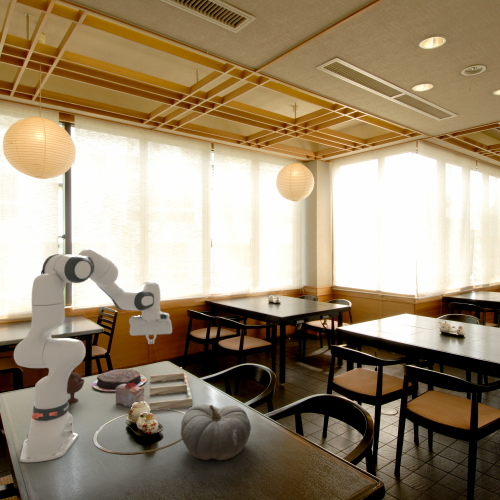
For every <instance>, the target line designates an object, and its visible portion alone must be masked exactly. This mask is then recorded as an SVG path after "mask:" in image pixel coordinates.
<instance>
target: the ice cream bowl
mask: <svg viewBox="0 0 500 500" xmlns="http://www.w3.org/2000/svg"><path fill="white" fill-rule="evenodd" d="M84 383H85V379H83V378H82V375H81V374H80V373H78V372H75V371H74V370H73V371H72V372H71V374H70V376H69V379H68V383H67V394H68V395H70V397H69V399H67V400H68V404H69V405H73V404H77V403H78V402H79V399H78V398H76V397H75V393H78V392H79V391H81V389H83V387H84Z"/></svg>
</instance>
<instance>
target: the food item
mask: <svg viewBox="0 0 500 500" xmlns="http://www.w3.org/2000/svg"><path fill="white" fill-rule="evenodd" d="M144 397H145V387H141V386H139V387H137V386H136V384H134V383H128V384H121V385H119V386H117V387H116V392H115V404H119V405H123V407H131V406H132V404H133V403H134V402H138V401H143V402H144V401H145V400H144ZM131 408H132V407H131Z"/></svg>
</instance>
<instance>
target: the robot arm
mask: <svg viewBox="0 0 500 500" xmlns="http://www.w3.org/2000/svg"><path fill="white" fill-rule="evenodd" d="M118 276H119V269H118V267H117V266H116V264H115V263H114V262H113V261H112V260H110V259H109V258H108V257H107V256H105V255H104V254H103V253H101V252H100V251H98V250H96V249H95V248H91V247H88V248H87V247H86V248H84V249H82V250H81V251H80V252H78V254H77V255H75V254H70V253H62V254H61V253H58V254H57V253H56V254H52V255H50V256H48V257H47V258H45V261H44V262H43V264H42V269H41V272H40V274H39V275H37V276H36V277H35V278H34V279H33V283H32V288H31V289H32V290H31V322H30V323H31V324H30V329H29V331H28V333H27V335H26V336H25V337H24V339H23V340H21V341H20V342H18V344H16V346H15V348H14V351H13V359H14V361H15V364H17V365H18V366H20V367H23V368H29V369H45V368H46V369H48V374H47V375H46V376H44V377H42V378H41V379H39V380H38V381H37V382H36V383H35V386H34V388H33V389H34V390H33V393H34V397H33V398H34V404H33V407H32V415H31V419H30V422H29V423H30V425H29V431H28V433H27V434H26V439H25V440H24V441H23V444H22V448H21V453H20V457H19V462H22V463H38V462H45V461H46V462H47V461H51V460H54V459H58V458H62V457H63V456H64V455H65V454H66V453H67V452H68V450H69V449H70V448H71V447H72V446H73V444H74V443H75V442H76V440H77V439H78V438H79V435H78V433H76V432H74V419H73V418H74V417H73V415H72V414H71V413H70V412H69V405H70V404H68V400H69V399H68V395H67V394H68V393H67V383H68V379H69V376H70V374H71V372H72V371H74V370H75V368H77V367H78V366H79V365H80V364H82V362H83V361H84V359H85V356H86V353H87V352H86V351H87V350H86V346H85V344H84V342H83V341H82V340H80V339H75V338H71V337H59V338H58V337H54V338H53V337H52V332H53V331H55V330H56V329H58V328H59V327H62V325H63V324H64V322H65V321H66V314H65V313H66V311H65V309H66V308H65V293H64V291H65V288H66V285H67V284H68V283H69V284H80V283H83V282H85V281H87V280H88V279H90V280H91V281H93V282H94V283H95V284H96V285H97V287H98V288H99V289H100V290H101V291H102V292H103V293H105V294H106V296H108V297H109V299H110V300H111V301H112V302H113V305H114V307H115V308H116V309H117V310H119V311H134V312H137V311H138V312H139V311H141V315H132V316H131V317H129V319H128V324H129V325H130V326H129V335H131V337H132V336H145V338H146V340H147V344H148V345H153V344H155V340H156V339H157V335H171V334H172V333H173V326H172V321H171V319H170V314H169V313H168V312H164V311H162V310H161V305H160V303H161V288H160V286H159V284H158V283H156V282H149V281H146V282H143V284H142V285H141V286H140V287H139V288H137V289H124V288H121V287H120V286H119V285H118V284H117V283H116V280H117V279H118ZM152 335H153V339H150V338H149V337H150V336H152Z"/></svg>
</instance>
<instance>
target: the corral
mask: <svg viewBox="0 0 500 500" xmlns="http://www.w3.org/2000/svg"><path fill="white" fill-rule="evenodd" d="M149 377H150V378H149V379H150V380H149V381H150V382H151V383H158V382H157V381H162V382H167V381H166V380H173V381H177V380H176V379H184V380H183V383H184V382H185V383H184V384H183V383H182V384H174V385H173V384H172V385H162V386H154V387H153V386H151V387H149V396H156V395H155V394H159V395H167V394H166V393H169V394H175V393H174V392H180V393H186V395H187V398H177V399H176V398H175V399H169V400H159V401H158V400H157V401H149V403H148V404H149V407H150V409H151V410H154V411H157V410H156V409H164V410H169V409H168V408H173V409H180V408H179V407H182V408H190V407H189V406H193V396H192V391H191V389H190V388H191V387H190V384H189V381H188V380H189V379H188V377H187V373H186V372H185V371H184V372H175V373H165V374H151V375H150V376H149ZM185 391H187V392H185ZM149 407H148V408H149Z"/></svg>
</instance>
